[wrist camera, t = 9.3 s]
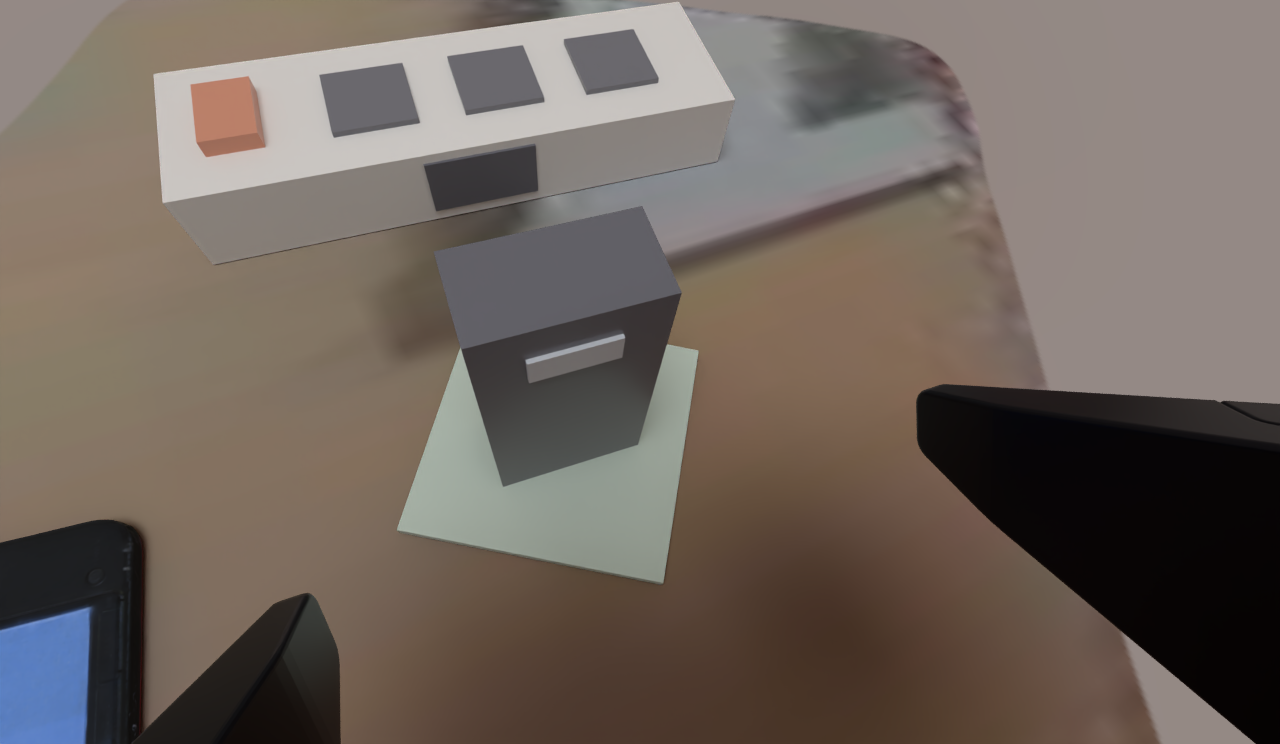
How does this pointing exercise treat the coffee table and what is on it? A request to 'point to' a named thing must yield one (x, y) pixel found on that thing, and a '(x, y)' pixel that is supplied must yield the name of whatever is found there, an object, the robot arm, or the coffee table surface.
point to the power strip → (432, 127)
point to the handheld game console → (71, 635)
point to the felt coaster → (557, 487)
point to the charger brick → (562, 336)
